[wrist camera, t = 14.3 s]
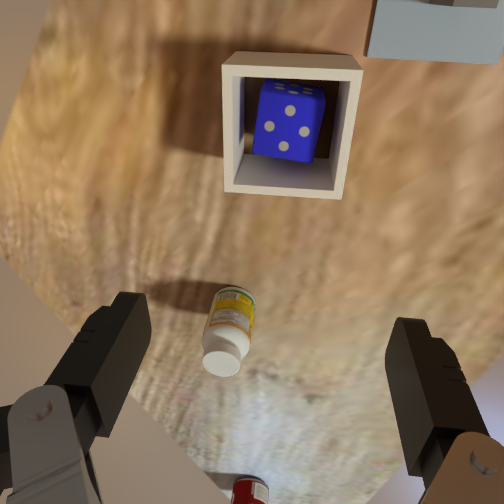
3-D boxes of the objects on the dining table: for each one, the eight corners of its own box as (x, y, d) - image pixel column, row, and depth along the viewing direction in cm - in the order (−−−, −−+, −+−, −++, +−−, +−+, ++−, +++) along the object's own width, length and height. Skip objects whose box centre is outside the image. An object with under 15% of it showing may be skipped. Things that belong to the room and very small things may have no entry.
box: (236, 50, 31) (221, 64, 26) (352, 55, 31) (363, 70, 25) (236, 160, 37) (224, 191, 31) (335, 166, 36) (341, 199, 30)
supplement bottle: (230, 277, 45) (215, 338, 37) (265, 301, 47) (257, 364, 39) (205, 302, 48) (185, 363, 40) (238, 324, 49) (226, 387, 41)
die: (310, 144, 35) (311, 164, 31) (257, 135, 35) (251, 154, 31) (323, 87, 32) (326, 101, 28) (265, 77, 32) (260, 89, 28)
